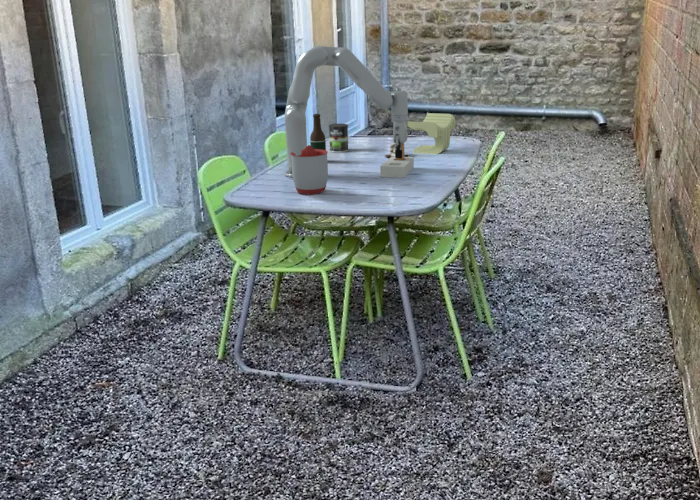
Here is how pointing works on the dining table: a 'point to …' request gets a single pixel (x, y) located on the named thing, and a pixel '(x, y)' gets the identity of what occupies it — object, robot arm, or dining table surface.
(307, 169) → the citrus juicer
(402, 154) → the peg
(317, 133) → the beer bottle
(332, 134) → the coffee can
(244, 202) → the dining table surface
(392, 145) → the skull
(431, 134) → the slatted curved stool
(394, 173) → the block
